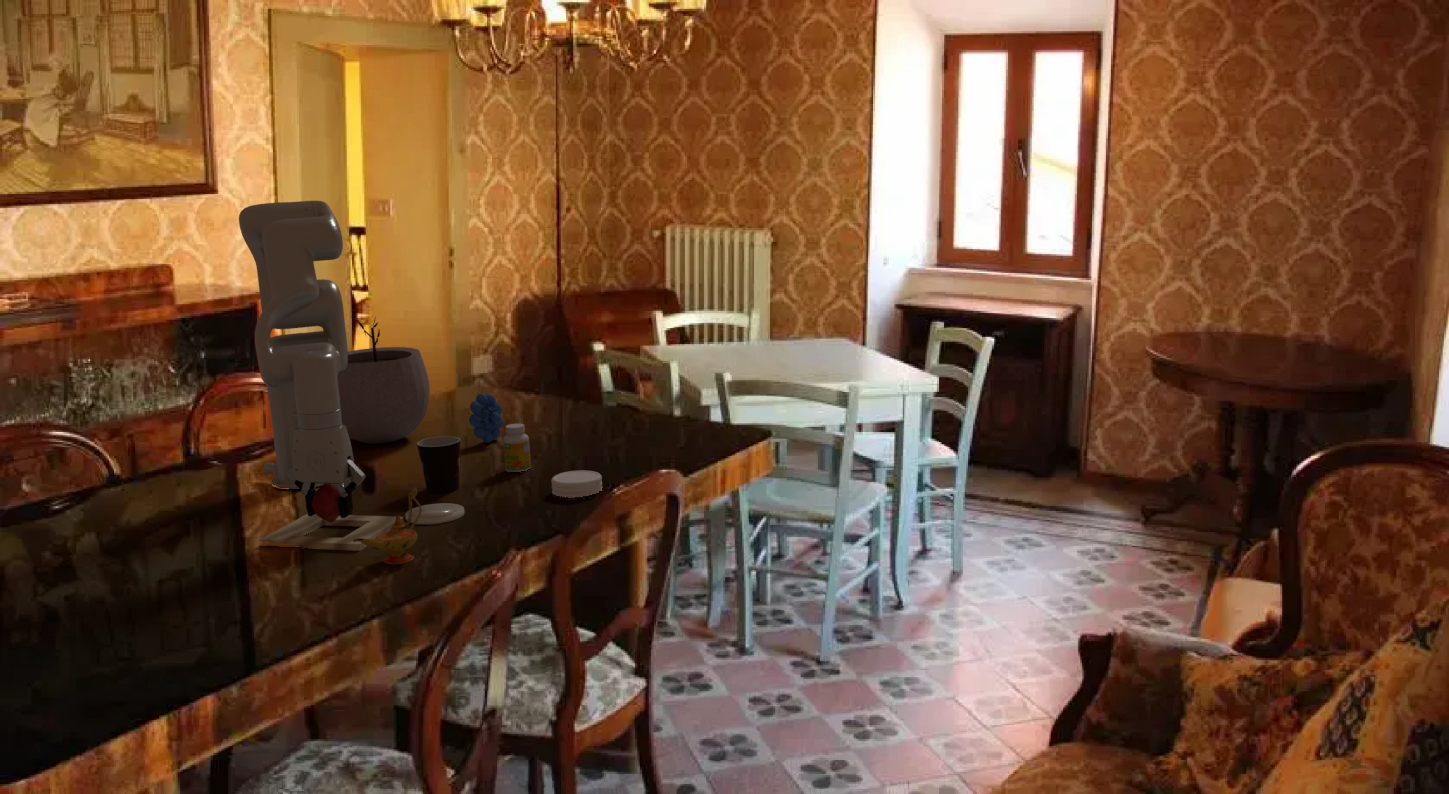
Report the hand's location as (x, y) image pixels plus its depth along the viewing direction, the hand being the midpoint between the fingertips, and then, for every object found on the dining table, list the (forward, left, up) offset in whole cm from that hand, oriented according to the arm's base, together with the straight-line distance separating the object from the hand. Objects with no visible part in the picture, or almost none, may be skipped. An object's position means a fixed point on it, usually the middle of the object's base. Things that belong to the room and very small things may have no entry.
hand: (330, 514), depth 241 cm
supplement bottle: (+18, +45, -4) cm, 49 cm away
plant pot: (-26, +67, -4) cm, 72 cm away
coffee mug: (+8, +31, -4) cm, 32 cm away
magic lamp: (+20, -14, -4) cm, 24 cm away
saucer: (+15, +12, -4) cm, 19 cm away
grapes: (+2, +67, -4) cm, 67 cm away
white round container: (+37, +30, -4) cm, 48 cm away
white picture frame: (+1, -1, -4) cm, 4 cm away
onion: (0, 0, -2) cm, 2 cm away
